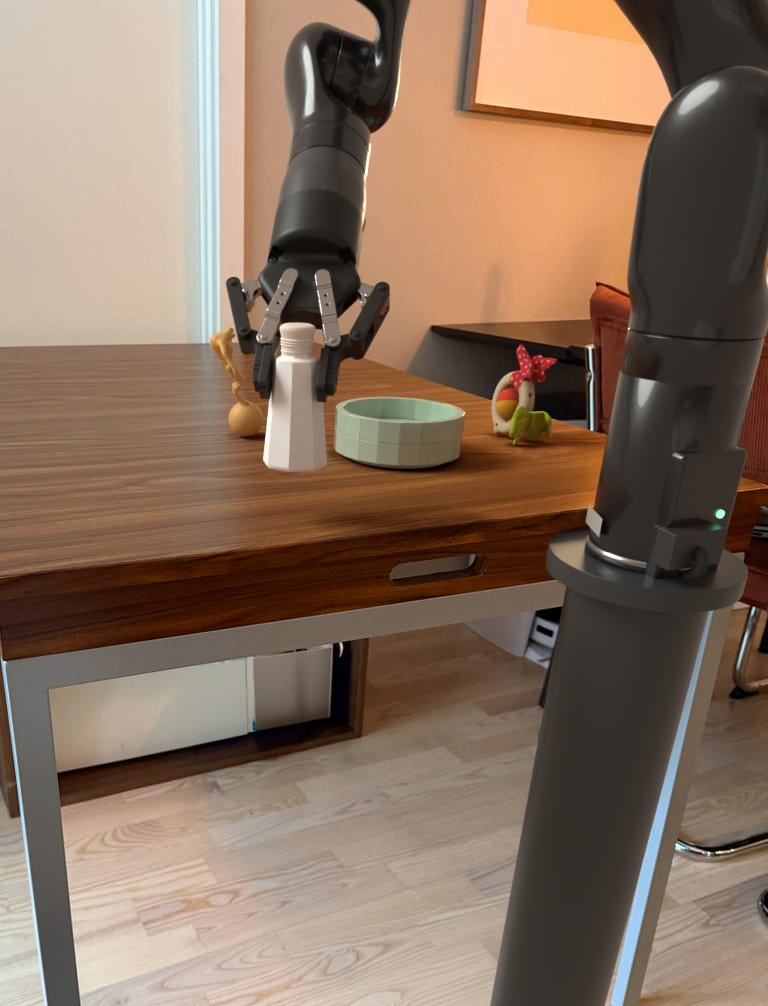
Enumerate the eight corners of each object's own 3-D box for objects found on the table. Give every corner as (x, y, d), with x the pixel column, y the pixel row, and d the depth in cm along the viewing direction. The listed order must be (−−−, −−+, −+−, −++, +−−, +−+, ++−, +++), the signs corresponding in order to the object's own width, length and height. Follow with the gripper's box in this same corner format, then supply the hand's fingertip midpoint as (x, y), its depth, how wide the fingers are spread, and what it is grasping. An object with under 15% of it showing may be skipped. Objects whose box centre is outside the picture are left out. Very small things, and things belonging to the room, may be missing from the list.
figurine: (267, 444, 97) (268, 332, 92) (213, 445, 96) (212, 331, 91) (258, 428, 105) (259, 323, 99) (208, 428, 104) (207, 322, 98)
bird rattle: (475, 454, 104) (523, 439, 96) (464, 361, 103) (512, 338, 95) (517, 451, 106) (568, 436, 98) (507, 360, 106) (557, 337, 97)
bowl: (483, 466, 91) (489, 418, 89) (367, 476, 86) (371, 425, 84) (420, 437, 102) (424, 394, 100) (314, 444, 98) (316, 399, 95)
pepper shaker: (340, 467, 71) (346, 326, 66) (285, 476, 68) (288, 329, 64) (302, 453, 75) (306, 319, 70) (249, 461, 72) (249, 322, 68)
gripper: (229, 184, 70) (194, 360, 65) (404, 187, 68) (383, 369, 63) (243, 253, 77) (213, 417, 72) (403, 257, 75) (383, 427, 70)
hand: (292, 393), depth 67 cm, fingers closed on pepper shaker, 4 cm apart
